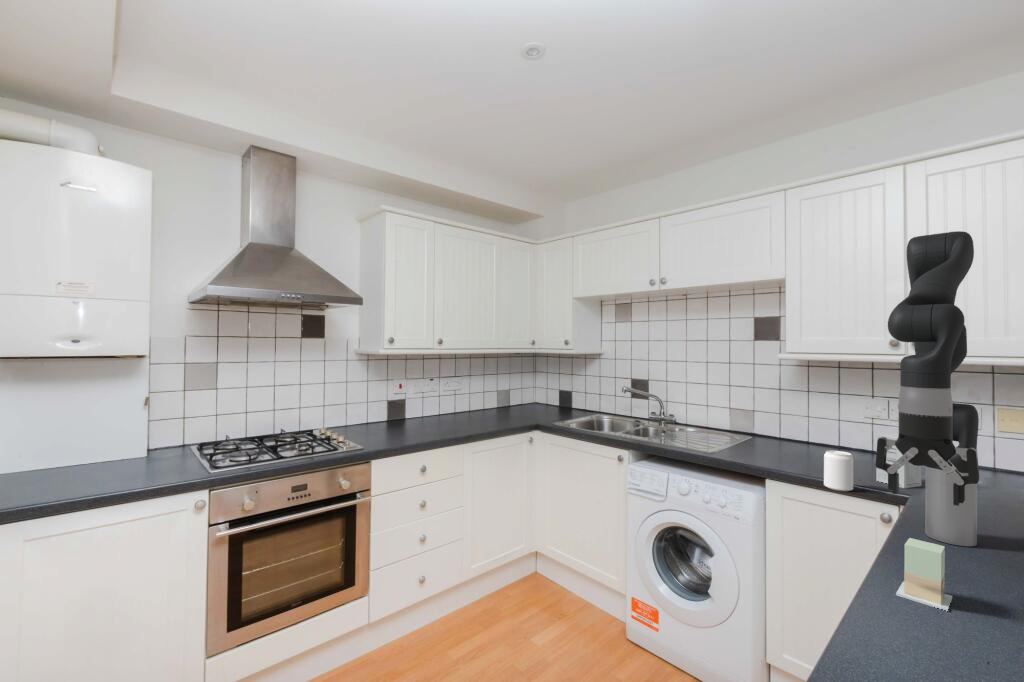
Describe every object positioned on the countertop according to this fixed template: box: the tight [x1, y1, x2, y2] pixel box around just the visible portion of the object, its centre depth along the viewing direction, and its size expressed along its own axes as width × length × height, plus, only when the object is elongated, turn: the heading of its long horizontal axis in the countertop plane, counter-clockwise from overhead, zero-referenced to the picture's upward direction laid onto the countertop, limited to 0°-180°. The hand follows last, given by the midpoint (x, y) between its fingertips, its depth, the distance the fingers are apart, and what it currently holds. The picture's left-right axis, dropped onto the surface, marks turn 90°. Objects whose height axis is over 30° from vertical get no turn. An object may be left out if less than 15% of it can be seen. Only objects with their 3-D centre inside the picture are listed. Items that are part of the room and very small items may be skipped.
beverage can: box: [823, 449, 854, 492], centre depth 156 cm, size 8×8×12 cm
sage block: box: [903, 537, 946, 582], centre depth 86 cm, size 5×5×5 cm
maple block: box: [903, 571, 945, 605], centre depth 86 cm, size 5×5×4 cm
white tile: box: [895, 580, 953, 612], centre depth 85 cm, size 7×7×1 cm
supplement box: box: [875, 433, 922, 489], centre depth 164 cm, size 10×9×17 cm
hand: (924, 498), depth 86 cm, fingers open, 8 cm apart
